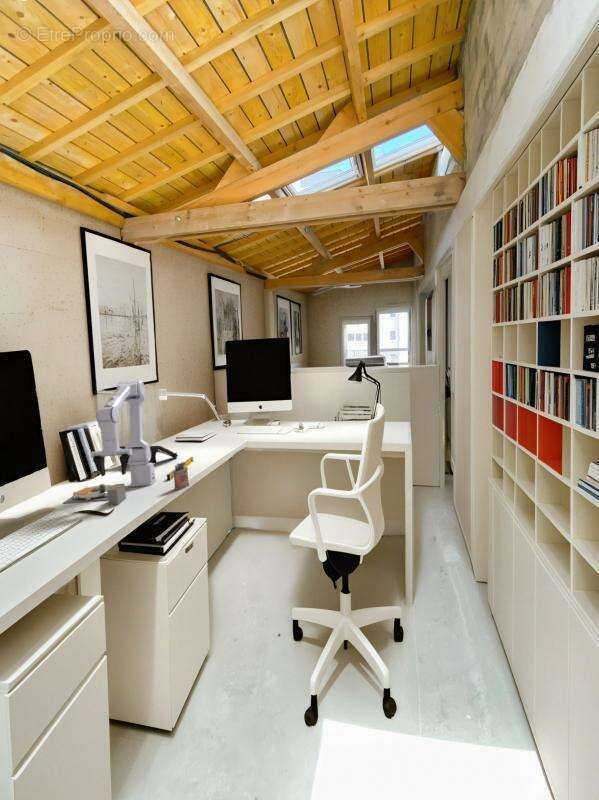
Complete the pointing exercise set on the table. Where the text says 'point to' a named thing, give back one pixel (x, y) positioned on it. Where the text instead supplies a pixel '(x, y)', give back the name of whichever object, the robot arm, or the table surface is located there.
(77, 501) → the base plate
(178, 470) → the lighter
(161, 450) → the portable electronic device stand
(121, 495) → the orange striped gray block
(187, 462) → the spirit level
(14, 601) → the table surface
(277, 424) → the table surface
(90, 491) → the sprocket
